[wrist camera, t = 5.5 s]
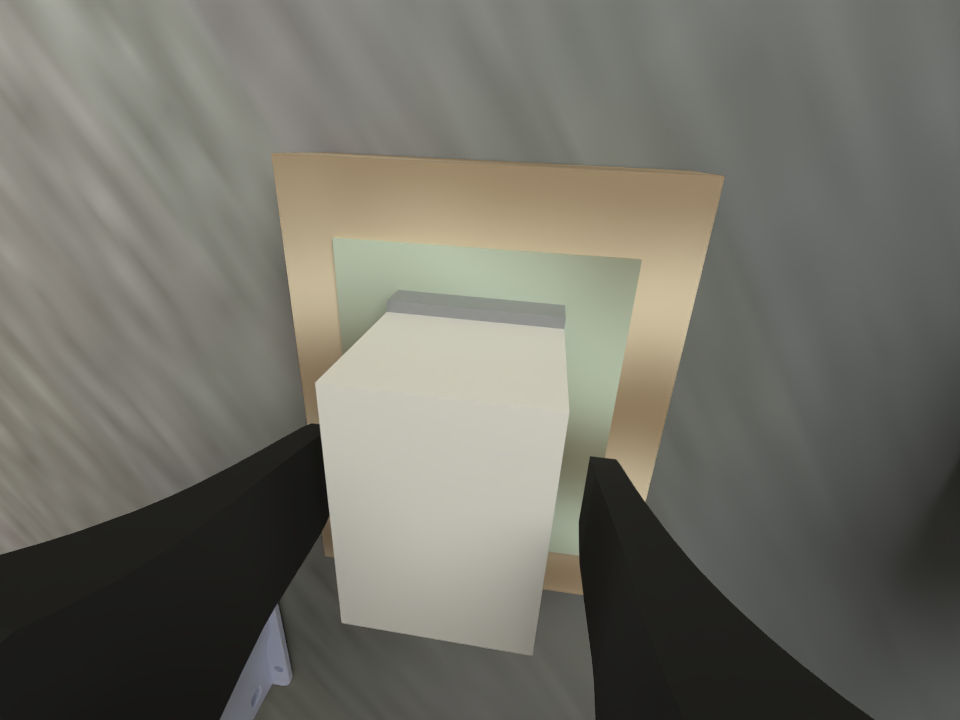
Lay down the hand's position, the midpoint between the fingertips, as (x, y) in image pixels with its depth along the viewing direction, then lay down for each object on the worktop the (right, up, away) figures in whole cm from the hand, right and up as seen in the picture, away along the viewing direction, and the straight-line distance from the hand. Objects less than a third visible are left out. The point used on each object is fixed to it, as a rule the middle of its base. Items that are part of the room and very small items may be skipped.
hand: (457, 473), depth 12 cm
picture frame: (+1, +2, +5) cm, 6 cm away
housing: (0, +1, +2) cm, 3 cm away
